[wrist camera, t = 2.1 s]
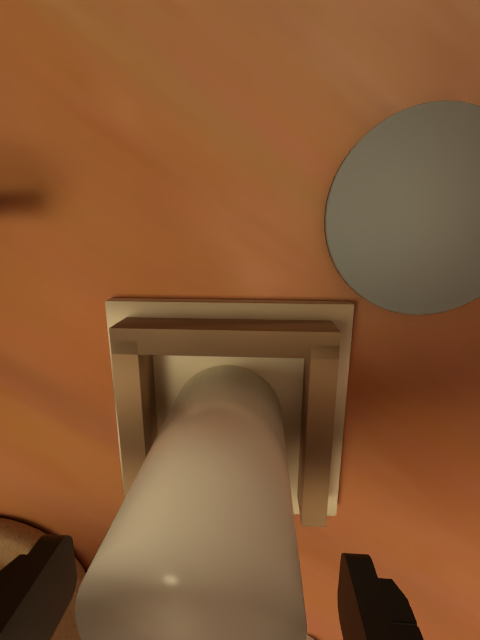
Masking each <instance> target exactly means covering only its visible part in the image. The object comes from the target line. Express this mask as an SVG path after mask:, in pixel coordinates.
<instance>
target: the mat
mask: <svg viewBox="0 0 480 640" xmlns="http://www.w3.org/2000/svg"><path fill="white" fill-rule="evenodd" d="M324 230H325V238H326V244H327V247H328V251H329V254H330V257H331V259H332V261H333V264H334V266H335V268H336V269H337V271H338V273H339V274H340V276H341V277H342V278H343V279H344V281H345V282H346V283H347V284H348V285H349V286H350V287H351V288H352V289H353V290H354V291H355V292H356V293H358V294H359V295H360V296H362V297H363V298H365V299H366V300H368V301H369V302H371V303H373V304H375V305H377V306H379V307H381V308H384V309H387V310H390V311H393V312H398V313H402V314H412V315H424V314H434V313H440V312H445V311H448V310H451V309H455V308H457V307H460V306H462V305H465V304H467V303H469V302H471V301H473V300H474V299H476V298H478V297H480V106H477V105H475V104H470V103H465V102H460V101H436V102H428V103H424V104H420V105H415V106H413V107H410V108H407V109H405V110H402V111H400V112H398V113H396V114H394V115H392V116H390V117H388V118H387V119H385V120H384V121H382V122H381V123H380V124H378V125H377V126H375V127H374V128H373V129H372V130H371V131H370V132H368V133H367V134H366V135H365V136H364V137H363V138H362V139H361V140H360V141H359V142H358V143H357V144H356V145H355V146H354V147H353V148H352V150H351V151H350V152H349V153H348V155H347V156H346V158H345V159H344V161H343V162H342V163H341V165H340V167H339V169H338V171H337V173H336V175H335V176H334V179H333V182H332V184H331V187H330V189H329V193H328V197H327V201H326V207H325V215H324Z"/></svg>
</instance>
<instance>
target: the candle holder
mask: <svg viewBox="0 0 480 640" xmlns="http://www.w3.org/2000/svg"><path fill="white" fill-rule="evenodd" d="M45 534H46V533H44V532H42V531H40V530H38V529H36V528H34V527H31V526H29V525H27V524H24V523H21V522H17V521H14V520H10V519H4V518H0V570H1V569H3V568H4V567H5V566H6V565H8V564H9V563H10V562H11V561H12V560H14V559H15V558H16V557H17V556H19V555H20V554H26V555H27V554H28V553H29V551H30V550H31V549H32V547H33V546H34V545H35V543H36V542H37V541H38V539H39V538H40V537H41V536H43V535H45ZM75 563H76V570H77V583H76V588H75V591H74V594H73V597H72V600H71V602H70V604H69V606H68V607H67V609H66V611H65V613H64V615H63V617H62V619H61V621H60V623H59V625H58V626H57V628H56V630H55V632H54V634H53V636H52V638H51V640H81V638H80V635H79V632H78V629H77V624H76V618H75V604H76V597H77V593H78V590H79V587H80V585H81V583H82V581H83V579H84V577H85V575H86V572H85V570H84V568H83V567H82V566H81V564H80V563H79V562H78V560H77V559H76V558H75Z"/></svg>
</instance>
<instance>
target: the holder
mask: <svg viewBox="0 0 480 640" xmlns="http://www.w3.org/2000/svg"><path fill="white" fill-rule="evenodd" d="M105 306H106V316H107V327H108V337H109V347H110V357H111V368H112V378H113V388H114V399H115V409H116V419H117V429H118V440H119V450H120V460H121V470H122V481H123V491H124V499H125V497H126V495H127V493H128V491H129V489H130V487H131V485H132V483H133V482H134V480H135V478H136V476H137V474H138V472H139V470H140V468H141V466H142V464H143V462H144V460H145V458H146V456H147V454H148V452H149V451H150V449H151V447H152V445H153V443H154V441H155V439H156V437H157V435H158V433H159V431H160V429H161V427H162V425H163V423H164V421H165V420H166V418H167V416H168V414H169V412H170V410H171V408H172V406H173V404H174V402H175V400H176V398H177V396H178V394H179V392H180V390H181V389H182V387H183V386H184V384H185V383H186V382H187V381H188V380H189V379H190V378H191V377H193V376H194V375H195V374H197V373H198V372H200V371H202V370H205V369H207V368H210V367H214V366H220V365H231V366H238V367H242V368H245V369H248V370H251V371H253V372H255V373H256V374H258V375H259V376H261V377H262V378H263V379H265V380H266V381H267V382H268V383H269V384H270V386H271V387H272V388H273V390H274V391H275V393H276V395H277V397H278V399H279V402H280V405H281V411H282V419H283V427H284V436H285V444H286V453H287V461H288V470H289V478H290V487H291V495H292V504H293V512H294V514H300V520H301V526H311V527H326V519H327V515H328V516H336V512H337V500H338V489H339V477H340V465H341V454H342V442H343V431H344V419H345V407H346V396H347V384H348V373H349V361H350V349H351V338H352V326H353V315H354V304H353V303H352V302H351V301H299V300H224V299H148V298H111V299H109V300H106V301H105Z"/></svg>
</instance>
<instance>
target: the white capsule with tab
mask: <svg viewBox="0 0 480 640" xmlns="http://www.w3.org/2000/svg"><path fill="white" fill-rule="evenodd" d="M75 618H76V624H77V629H78V632H79V635H80V638H81V640H307V623H306V614H305V606H304V597H303V589H302V580H301V572H300V563H299V555H298V546H297V538H296V529H295V521H294V512H293V504H292V495H291V487H290V478H289V470H288V461H287V453H286V444H285V436H284V427H283V419H282V411H281V405H280V402H279V399H278V397H277V395H276V393H275V391H274V390H273V388H272V387H271V386H270V384H269V383H268V382H267V381H266V380H265V379H263V378H262V377H261V376H259V375H258V374H256V373H255V372H253V371H251V370H248V369H245V368H242V367H238V366H231V365H220V366H214V367H210V368H207V369H205V370H202V371H200V372H198V373H197V374H195V375H194V376H193V377H191V378H190V379H189V380H188V381H187V382H186V383H185V384H184V386H183V387H182V389H181V390H180V392H179V394H178V396H177V398H176V400H175V402H174V404H173V406H172V408H171V410H170V412H169V414H168V416H167V418H166V420H165V421H164V423H163V425H162V427H161V429H160V431H159V433H158V435H157V437H156V439H155V441H154V443H153V445H152V447H151V449H150V451H149V452H148V454H147V456H146V458H145V460H144V462H143V464H142V466H141V468H140V470H139V472H138V474H137V476H136V478H135V480H134V482H133V483H132V485H131V487H130V489H129V491H128V493H127V495H126V497H125V499H124V501H123V503H122V505H121V507H120V509H119V511H118V513H117V515H116V516H115V518H114V520H113V522H112V524H111V526H110V528H109V530H108V532H107V534H106V536H105V538H104V540H103V542H102V544H101V546H100V547H99V549H98V551H97V553H96V555H95V557H94V559H93V561H92V563H91V565H90V567H89V569H88V571H87V573H86V575H85V577H84V579H83V581H82V583H81V585H80V587H79V590H78V593H77V597H76V604H75Z"/></svg>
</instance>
